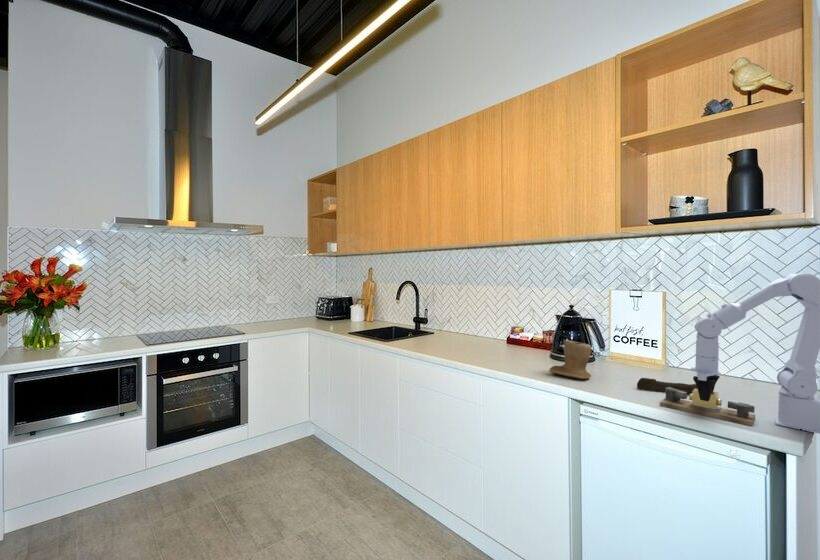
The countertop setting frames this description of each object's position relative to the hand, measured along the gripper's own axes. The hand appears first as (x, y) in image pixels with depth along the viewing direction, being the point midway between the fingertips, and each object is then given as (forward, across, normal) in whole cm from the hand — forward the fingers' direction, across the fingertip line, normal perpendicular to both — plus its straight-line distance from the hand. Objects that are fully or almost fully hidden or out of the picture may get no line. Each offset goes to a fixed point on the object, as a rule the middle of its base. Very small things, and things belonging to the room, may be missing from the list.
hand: (705, 398), depth 123 cm
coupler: (+2, 0, 0) cm, 2 cm away
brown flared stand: (+4, -10, -47) cm, 48 cm away
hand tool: (+5, -14, -14) cm, 20 cm away
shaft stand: (+4, 0, 0) cm, 4 cm away
